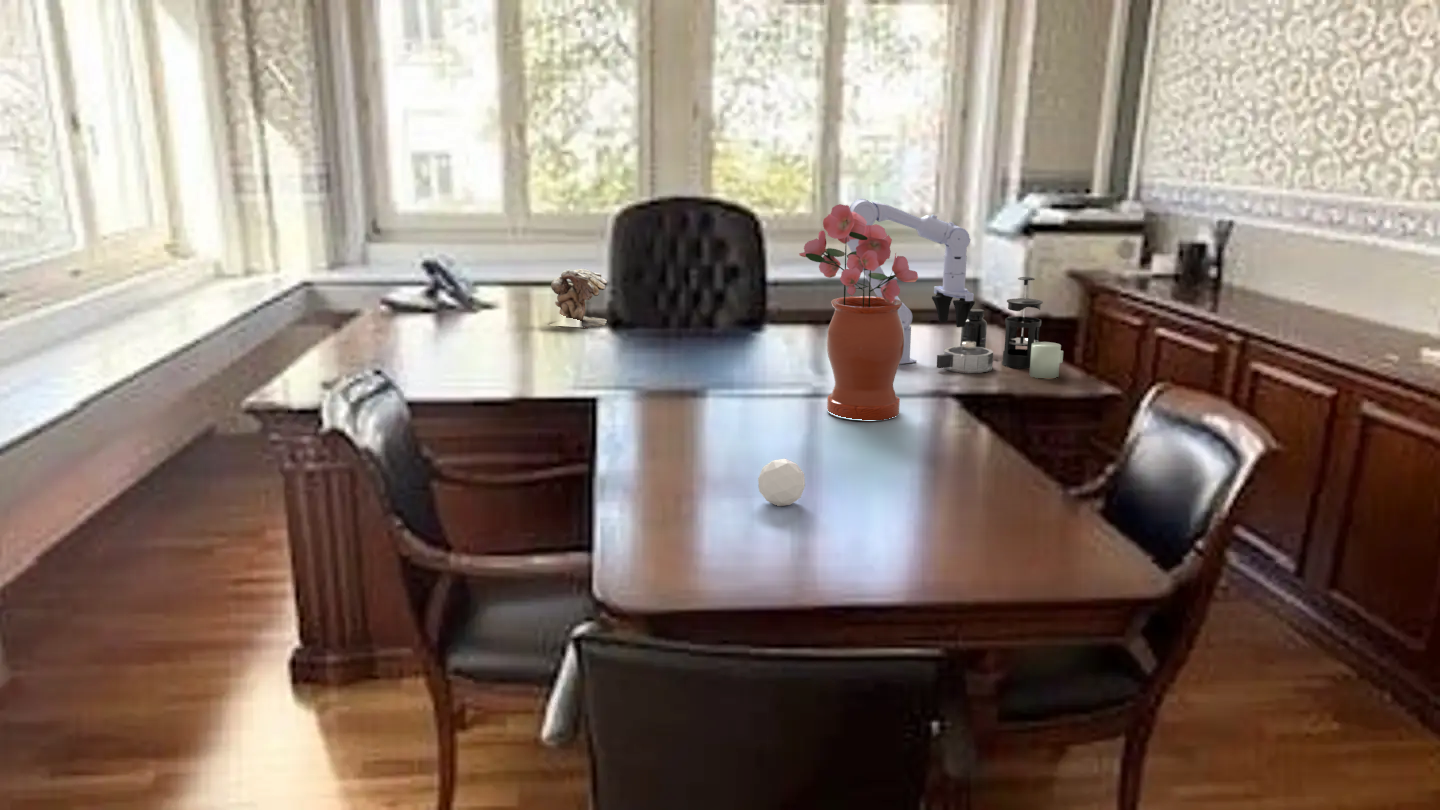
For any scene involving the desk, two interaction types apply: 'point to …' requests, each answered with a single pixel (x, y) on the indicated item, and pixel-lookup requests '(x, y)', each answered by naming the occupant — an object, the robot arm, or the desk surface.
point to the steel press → (966, 360)
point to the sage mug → (1045, 359)
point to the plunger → (968, 346)
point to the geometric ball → (781, 482)
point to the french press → (1022, 356)
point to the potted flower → (862, 318)
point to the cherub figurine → (578, 294)
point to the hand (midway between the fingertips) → (951, 324)
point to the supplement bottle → (975, 328)
